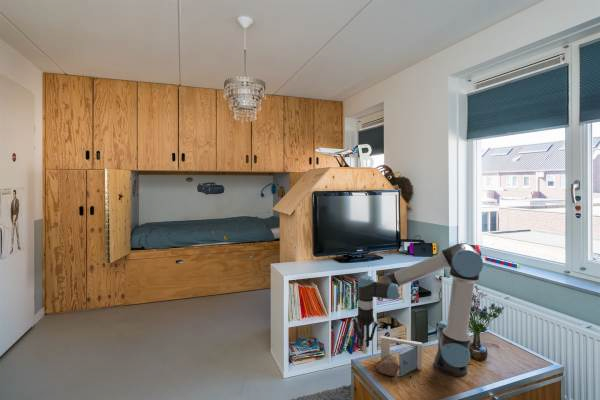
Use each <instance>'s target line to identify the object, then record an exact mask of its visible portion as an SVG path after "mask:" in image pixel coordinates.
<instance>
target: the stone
mask: <svg viewBox="0 0 600 400" xmlns="http://www.w3.org/2000/svg"><path fill="white" fill-rule="evenodd" d="M399 368H400V367H399V361H397V359H396V356H393V355H391V354H390V355H386V356H385V357H384V358H382V360H381V359H380V362H379V363H378V364H377V365H376V367H375V369H376V370H377V371H378V372H379V373H380V374H382V375H387V376H392V377H395V376H396V375H397V374H398V373H399Z"/></svg>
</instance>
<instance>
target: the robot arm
mask: <svg viewBox="0 0 600 400" xmlns="http://www.w3.org/2000/svg"><path fill="white" fill-rule="evenodd" d="M483 261H484V260H483V257H482V256H481V254H480V253H479V252H478V251H477V250H476V249H475V248H474V247H473V246H472V245H470V244H468V243H464V242H463V243H457V244H454V245H452V246H449V247H447V248H445V249H442V250H440V253H438V254H436V255H434V256H431V257H429V258H426V259H424V260H421V261H419V262H417V263H413V264H411V265H409V266H407V267H404V268H402V269H400V270H397V271H394V272H392V273H385V274H384V275H383V276H382V277H381V279H380V282H379V281H375V280H374V277H372V276H370V275H361V276H359V278H358V284H357V289H358V291H357V316H356V317H353V319H352V322H353V324H354V327H355V332H356V337H357V339H360V341H361V342H360V346H361V347H362V354H365V355H366V354H367V351H368V348H369V346H370V341H371V342H372V341H373V338H374V335H375V332H376V328H377V327H378V325H379V321H376V320H375V317H374V298H379V299H386V300H395V301H396V300H398V299H399V287H402V286H404V285H407V284H411V283H412V282H414V281H417V280H420V279H423V278H425V277H427V276H428V277H429V276H430V275H433V274H435V273H437V272H441V271H443V270H445V269H449V275H450V276H451V277H452V283H451V290H450V296H449V297H450V298H449V306H448V315H447V319H446V320H445V319H444V320H440V321H439V322H438V323H437V324H438V326H437V329H438V330H437V332H438V333H437V334H438V335H437V346H438V347H437V352H436V354H435V356H434V358H433V359H434V361H433V362H434V367H435V368H436V369H437V370H439V372H441V373H442V374H446V375H449V376H452V377H453V376H454V377H461V376H465V375H466V374H468V364H469V363H470V361H471V352H470V345H471V335H470V334H469V333H468V330H469V323H470V315H471V309H472V300H473V294H474V286H475V285H474V284H475V283H476V282H479V280H480V279H479V278H480V274H481V272H482V270H483V268H484V262H483ZM372 323H373V324H372ZM359 324H360V327H359ZM371 324H372V325H373V327H372V330H371V334H370V327H371ZM365 331H366V332H365ZM365 336H366V337H365Z"/></svg>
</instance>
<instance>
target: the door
mask: <svg viewBox="0 0 600 400" xmlns="http://www.w3.org/2000/svg"><path fill="white" fill-rule="evenodd" d="M398 355H399V356H398V365H399V367H400V368H399V370H398V376H400V377H403V376H405V375H406V374H409V373H410V372H412V371H414V370H416V369H418V346H414V345H412V346H411V347H409V348H407V349H405V350H403V351H401V352H400V351H399V353H398Z"/></svg>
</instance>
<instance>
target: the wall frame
mask: <svg viewBox="0 0 600 400" xmlns="http://www.w3.org/2000/svg"><path fill="white" fill-rule="evenodd" d="M391 343H397V344H402V345H409V346H418V366H417V371H418V370H419V371H422V369H423V342H419V341H414V340H408V339H404V338H403V339H401V338H395V337H391V336H384V335H381V336H380V361H381V360H382V358H384V357H385V356H386V355H391Z"/></svg>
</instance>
